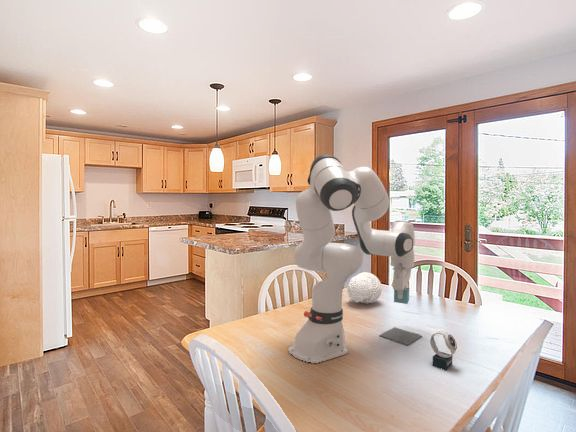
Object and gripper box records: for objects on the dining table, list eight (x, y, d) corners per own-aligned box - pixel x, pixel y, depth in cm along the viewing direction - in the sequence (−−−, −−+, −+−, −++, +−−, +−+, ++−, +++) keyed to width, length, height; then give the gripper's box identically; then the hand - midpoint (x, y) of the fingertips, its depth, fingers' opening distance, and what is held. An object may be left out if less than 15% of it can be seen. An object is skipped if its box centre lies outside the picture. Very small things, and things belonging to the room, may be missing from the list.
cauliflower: (358, 297, 188) (359, 268, 187) (388, 303, 176) (389, 272, 176) (340, 305, 172) (340, 274, 171) (372, 313, 161) (372, 279, 160)
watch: (452, 372, 106) (453, 338, 106) (427, 363, 112) (427, 331, 111) (458, 366, 110) (459, 333, 110) (433, 358, 116) (434, 327, 115)
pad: (407, 345, 125) (407, 344, 125) (379, 336, 134) (379, 335, 134) (422, 336, 134) (422, 335, 134) (394, 328, 142) (394, 327, 142)
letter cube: (407, 303, 130) (407, 290, 129) (393, 302, 132) (394, 289, 132) (409, 300, 134) (409, 287, 134) (396, 298, 136) (396, 286, 136)
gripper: (406, 267, 122) (406, 304, 122) (413, 258, 140) (413, 290, 141) (389, 265, 124) (388, 302, 125) (398, 256, 143) (397, 288, 143)
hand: (401, 295), depth 133 cm, fingers closed on letter cube, 5 cm apart
